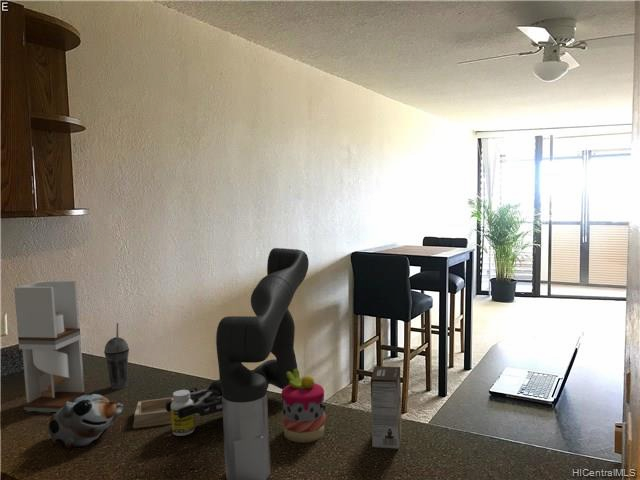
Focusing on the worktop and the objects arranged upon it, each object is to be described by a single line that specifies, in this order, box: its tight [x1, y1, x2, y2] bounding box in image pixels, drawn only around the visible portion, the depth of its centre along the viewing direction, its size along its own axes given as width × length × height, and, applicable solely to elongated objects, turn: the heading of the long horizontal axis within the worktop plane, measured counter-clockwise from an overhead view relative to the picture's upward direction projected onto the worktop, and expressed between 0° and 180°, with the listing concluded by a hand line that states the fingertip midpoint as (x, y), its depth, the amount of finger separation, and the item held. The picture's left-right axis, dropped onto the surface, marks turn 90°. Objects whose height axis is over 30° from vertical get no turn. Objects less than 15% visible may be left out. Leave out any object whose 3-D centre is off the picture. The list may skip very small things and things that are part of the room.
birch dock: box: [132, 396, 173, 429], centre depth 136 cm, size 11×10×3 cm
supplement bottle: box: [171, 389, 196, 437], centre depth 125 cm, size 5×5×10 cm
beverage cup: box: [103, 322, 130, 390], centre depth 159 cm, size 7×7×20 cm
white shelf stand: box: [13, 280, 86, 413], centre depth 146 cm, size 11×11×35 cm
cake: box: [280, 368, 327, 443], centre depth 124 cm, size 10×11×15 cm
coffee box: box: [370, 366, 403, 450], centre depth 119 cm, size 9×6×16 cm
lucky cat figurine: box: [48, 393, 124, 449], centre depth 125 cm, size 15×12×14 cm
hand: (172, 410), depth 123 cm, fingers closed on supplement bottle, 5 cm apart
